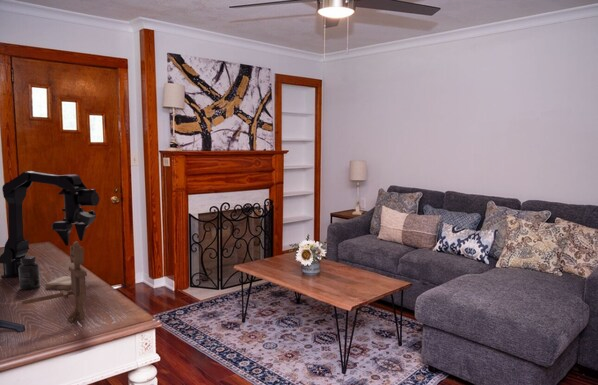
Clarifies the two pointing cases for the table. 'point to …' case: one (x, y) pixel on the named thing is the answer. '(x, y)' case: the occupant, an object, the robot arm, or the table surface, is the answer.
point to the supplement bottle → (29, 273)
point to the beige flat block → (60, 283)
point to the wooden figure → (76, 283)
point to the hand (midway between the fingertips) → (74, 243)
